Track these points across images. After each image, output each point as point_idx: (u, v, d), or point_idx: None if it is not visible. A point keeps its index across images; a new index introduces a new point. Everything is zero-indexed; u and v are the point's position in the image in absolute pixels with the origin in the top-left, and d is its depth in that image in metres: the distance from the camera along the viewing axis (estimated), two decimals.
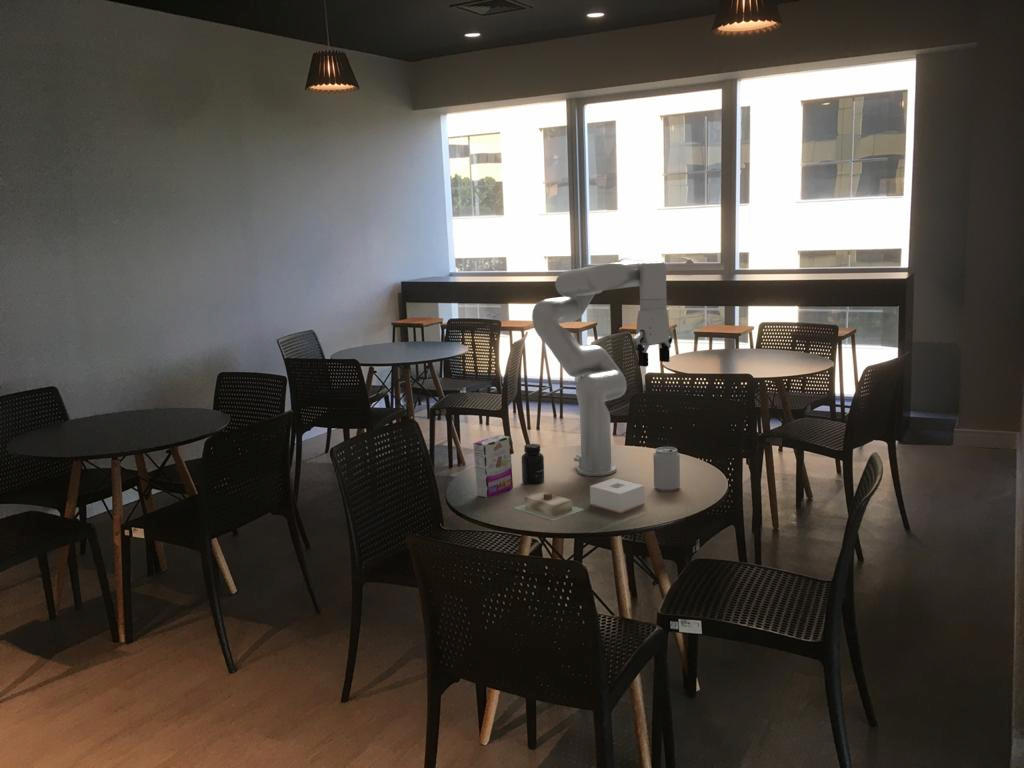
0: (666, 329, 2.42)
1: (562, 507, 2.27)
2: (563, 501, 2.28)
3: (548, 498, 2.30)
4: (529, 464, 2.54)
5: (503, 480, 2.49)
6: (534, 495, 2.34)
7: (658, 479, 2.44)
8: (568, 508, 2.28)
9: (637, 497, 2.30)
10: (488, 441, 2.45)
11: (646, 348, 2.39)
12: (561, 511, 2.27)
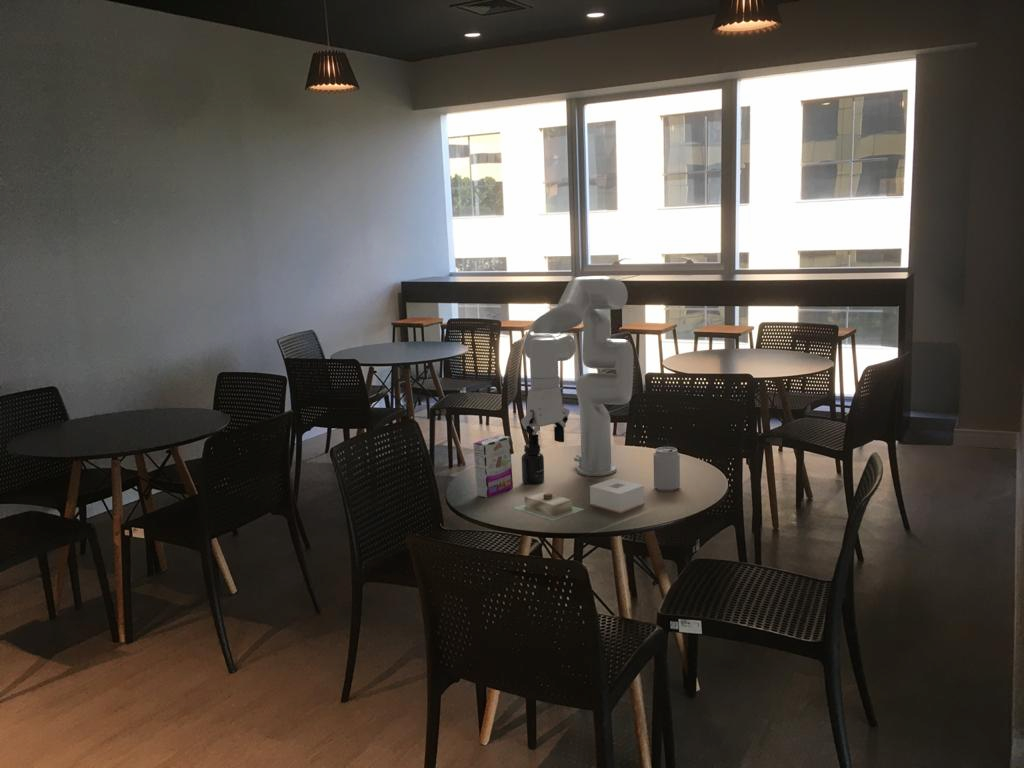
0: (559, 408, 2.27)
1: (562, 507, 2.27)
2: (563, 501, 2.28)
3: (548, 498, 2.30)
4: (529, 464, 2.54)
5: (503, 480, 2.49)
6: (534, 495, 2.34)
7: (658, 479, 2.44)
8: (568, 508, 2.28)
9: (637, 497, 2.30)
10: (488, 441, 2.45)
11: (536, 430, 2.24)
12: (561, 511, 2.27)
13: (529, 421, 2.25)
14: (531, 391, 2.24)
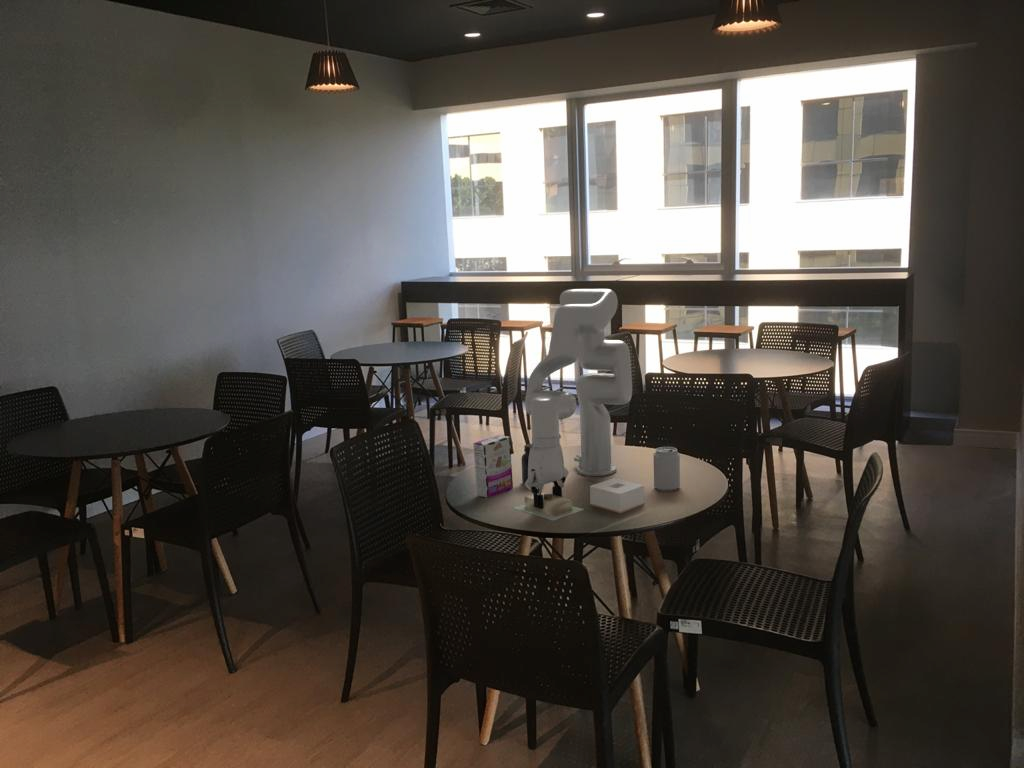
0: (560, 466, 2.30)
1: (562, 507, 2.27)
2: (563, 501, 2.28)
3: (548, 498, 2.30)
4: None
5: (503, 480, 2.49)
6: None
7: (658, 479, 2.44)
8: (568, 508, 2.28)
9: (637, 497, 2.30)
10: (488, 441, 2.45)
11: (540, 490, 2.27)
12: (561, 511, 2.27)
13: None
14: (532, 450, 2.26)
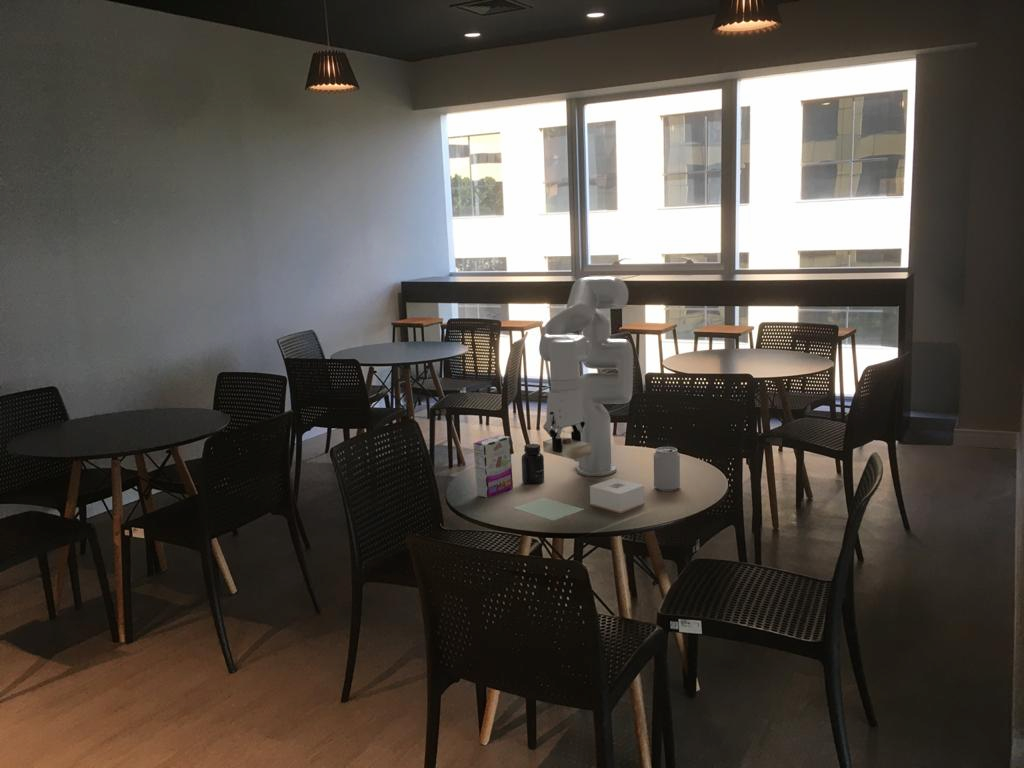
0: (579, 410, 2.28)
1: (580, 451, 2.24)
2: (582, 445, 2.26)
3: (567, 442, 2.28)
4: (529, 464, 2.54)
5: (503, 480, 2.49)
6: None
7: (658, 479, 2.44)
8: (586, 452, 2.26)
9: (637, 497, 2.30)
10: (488, 441, 2.45)
11: (559, 433, 2.25)
12: (580, 455, 2.24)
13: None
14: (551, 393, 2.24)
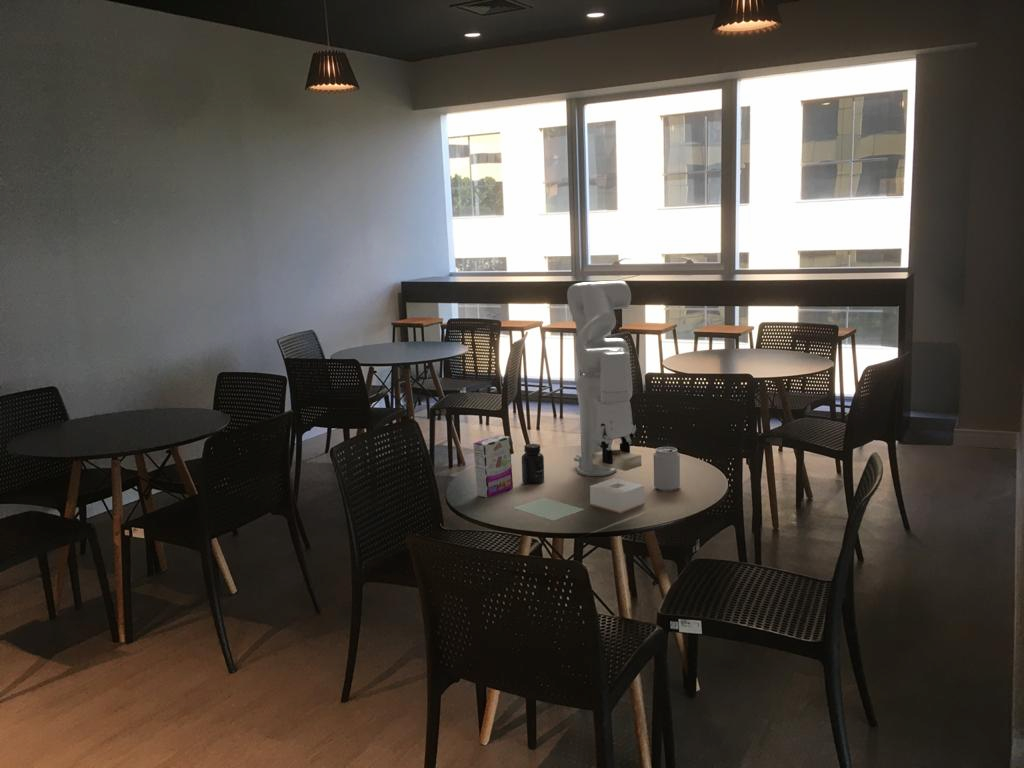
0: (629, 422, 2.29)
1: (632, 462, 2.25)
2: (633, 456, 2.27)
3: (617, 454, 2.29)
4: (529, 464, 2.54)
5: (503, 480, 2.49)
6: None
7: (658, 479, 2.44)
8: (637, 463, 2.27)
9: (637, 497, 2.30)
10: (488, 441, 2.45)
11: (610, 445, 2.26)
12: (631, 466, 2.25)
13: None
14: (602, 405, 2.25)
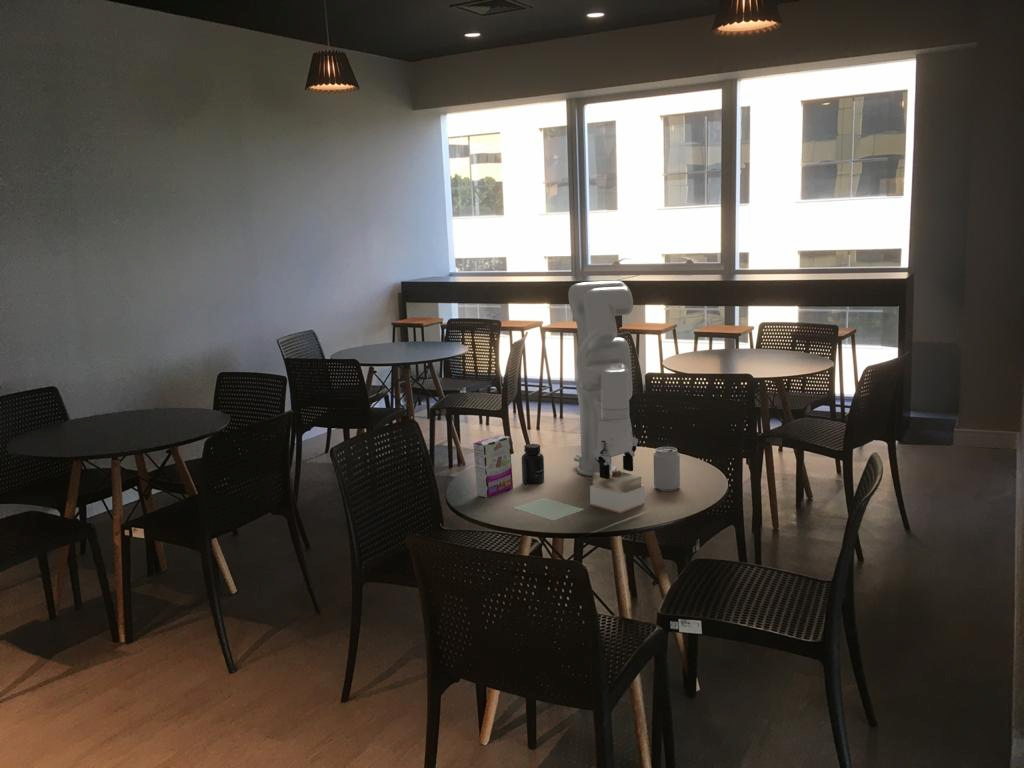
0: (629, 438, 2.30)
1: (632, 484, 2.27)
2: (633, 478, 2.28)
3: (617, 475, 2.30)
4: (529, 464, 2.54)
5: (503, 480, 2.49)
6: None
7: (658, 479, 2.44)
8: (637, 485, 2.28)
9: (637, 497, 2.30)
10: (488, 441, 2.45)
11: (607, 460, 2.26)
12: (631, 488, 2.27)
13: (600, 451, 2.28)
14: (602, 422, 2.26)
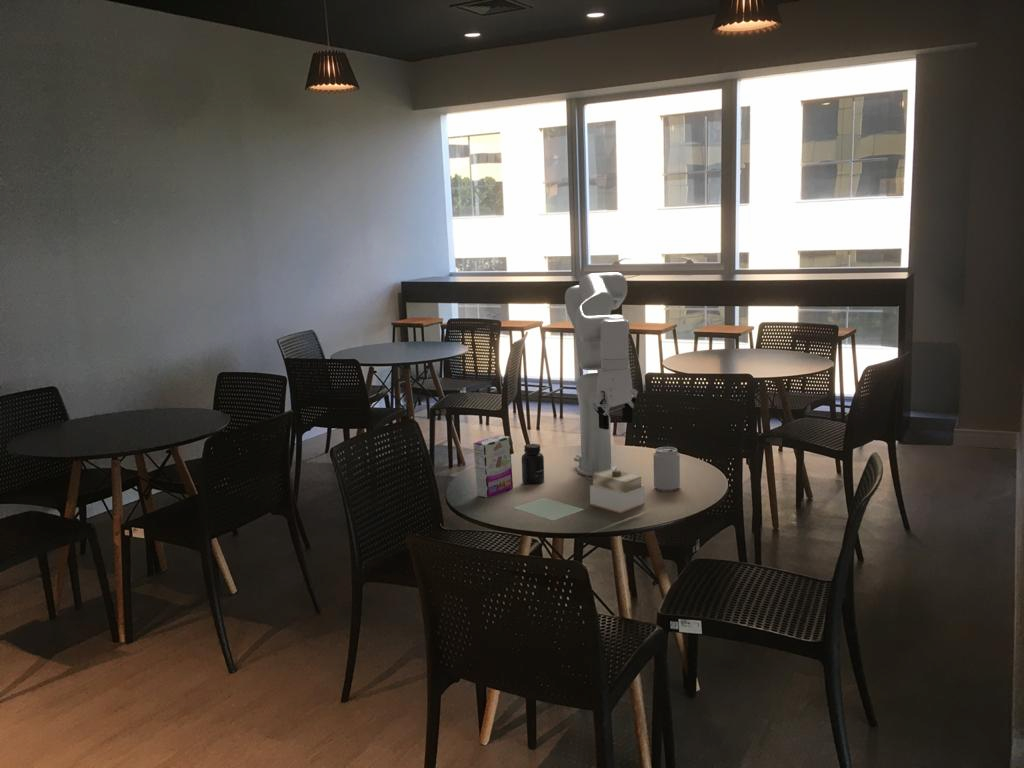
0: (628, 389, 2.29)
1: (632, 484, 2.27)
2: (633, 478, 2.28)
3: (617, 475, 2.30)
4: (529, 464, 2.54)
5: (503, 480, 2.49)
6: (602, 472, 2.34)
7: (658, 479, 2.44)
8: (637, 485, 2.28)
9: (637, 497, 2.30)
10: (488, 441, 2.45)
11: (607, 410, 2.26)
12: (631, 488, 2.27)
13: (599, 402, 2.28)
14: (602, 372, 2.26)
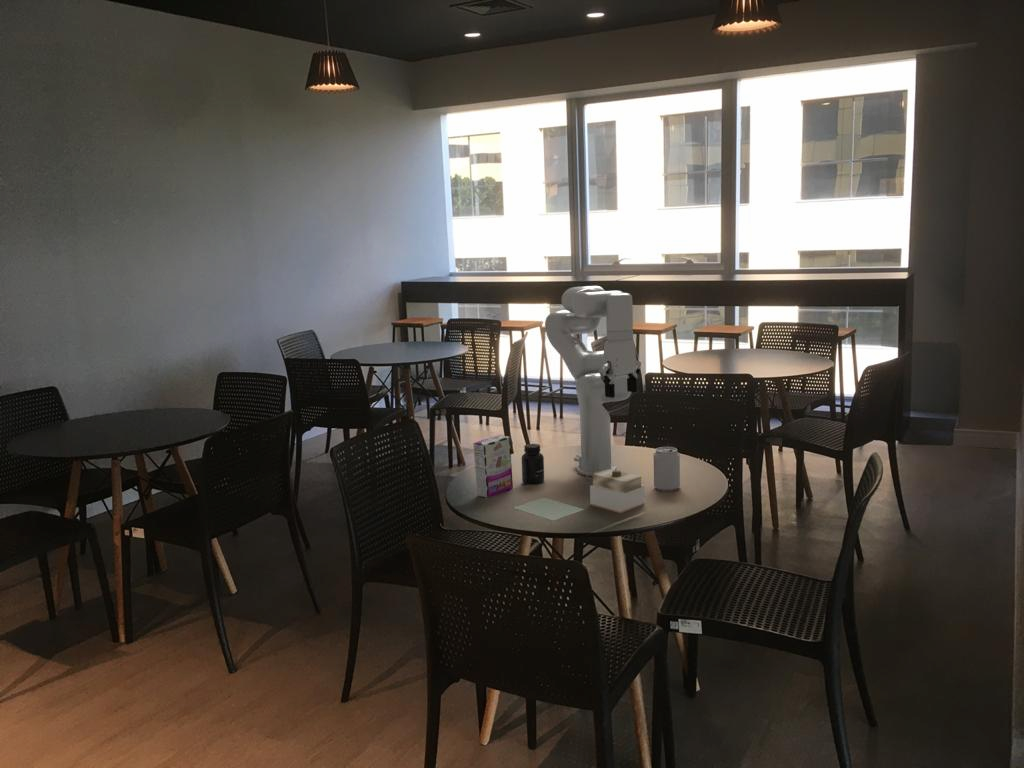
0: (633, 360, 2.43)
1: (632, 484, 2.27)
2: (633, 478, 2.28)
3: (617, 475, 2.30)
4: (529, 464, 2.54)
5: (503, 480, 2.49)
6: (602, 472, 2.34)
7: (658, 479, 2.44)
8: (637, 485, 2.28)
9: (637, 497, 2.30)
10: (488, 441, 2.45)
11: (612, 379, 2.39)
12: (631, 488, 2.27)
13: (605, 372, 2.41)
14: (608, 343, 2.39)
